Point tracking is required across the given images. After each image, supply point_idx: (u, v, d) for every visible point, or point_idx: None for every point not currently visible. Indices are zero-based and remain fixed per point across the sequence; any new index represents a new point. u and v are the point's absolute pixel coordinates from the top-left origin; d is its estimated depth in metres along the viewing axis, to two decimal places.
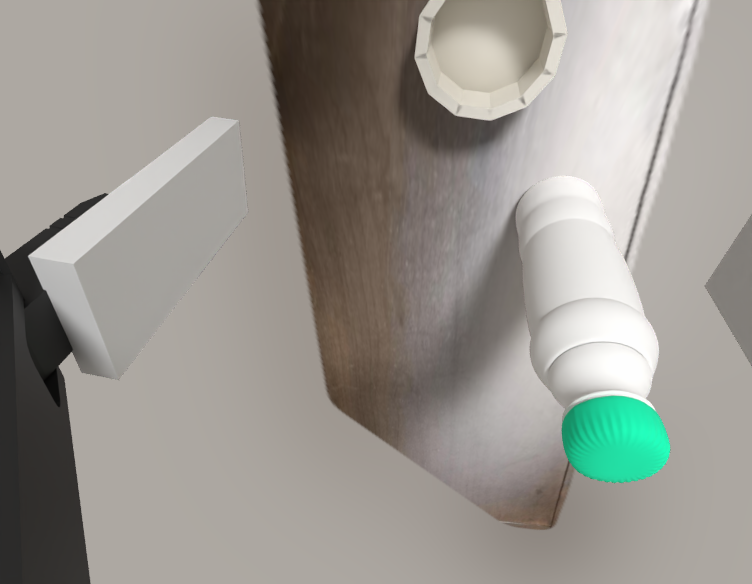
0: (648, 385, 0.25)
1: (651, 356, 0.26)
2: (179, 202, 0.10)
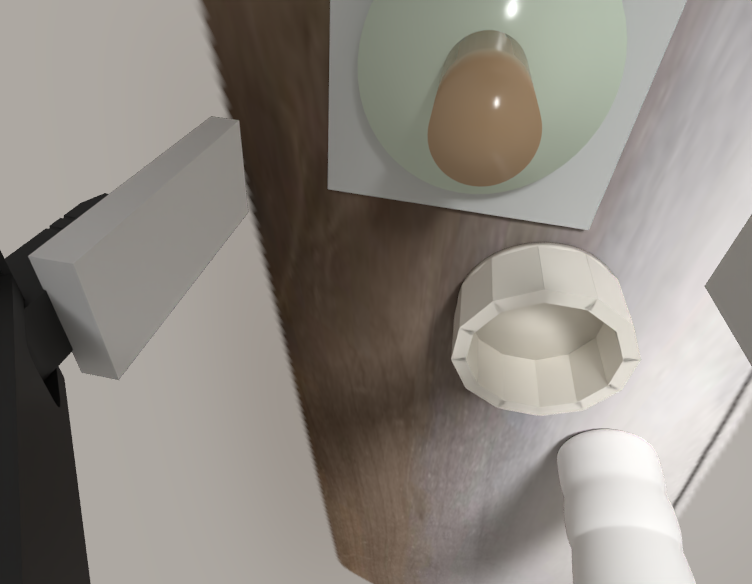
0: None
1: None
2: (179, 202, 0.10)
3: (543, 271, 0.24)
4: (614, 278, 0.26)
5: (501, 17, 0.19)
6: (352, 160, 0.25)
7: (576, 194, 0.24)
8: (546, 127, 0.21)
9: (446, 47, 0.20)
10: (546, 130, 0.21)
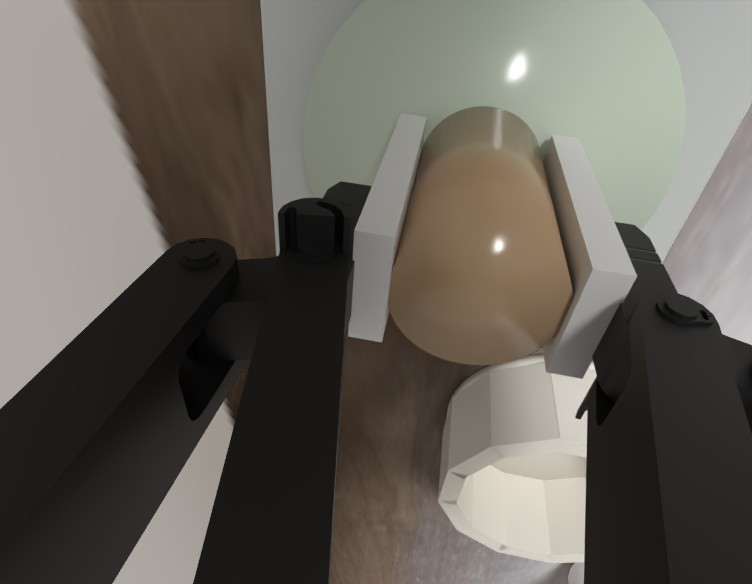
0: None
1: None
2: (410, 188, 0.11)
3: (557, 405, 0.18)
4: None
5: (502, 90, 0.13)
6: None
7: None
8: None
9: (425, 127, 0.14)
10: None
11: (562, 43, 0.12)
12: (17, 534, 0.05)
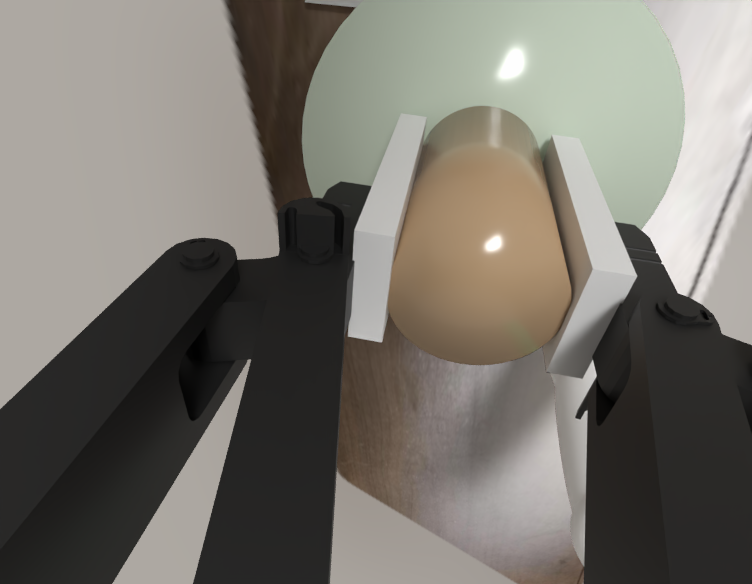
0: None
1: None
2: (410, 189, 0.11)
3: None
4: None
5: (501, 89, 0.13)
6: None
7: None
8: None
9: None
10: None
11: (561, 43, 0.12)
12: (17, 534, 0.05)
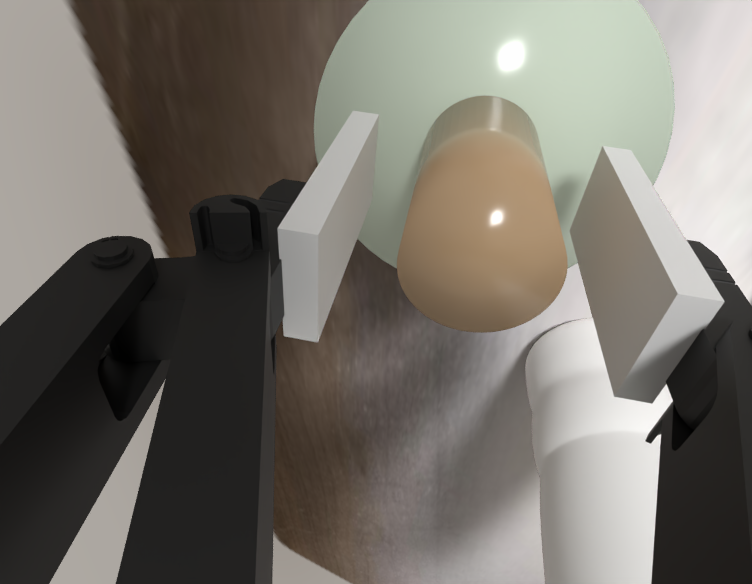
0: None
1: None
2: (353, 186, 0.11)
3: None
4: None
5: (503, 80, 0.14)
6: None
7: None
8: (562, 215, 0.16)
9: (430, 116, 0.15)
10: (562, 219, 0.16)
11: (558, 35, 0.13)
12: None
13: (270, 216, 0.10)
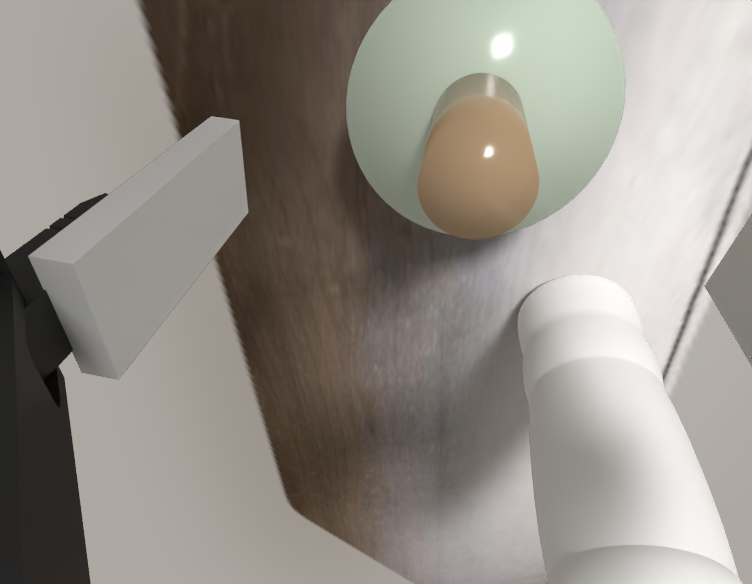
0: None
1: None
2: (179, 201, 0.10)
3: None
4: None
5: (494, 60, 0.18)
6: None
7: None
8: (542, 170, 0.20)
9: (438, 89, 0.19)
10: (543, 174, 0.21)
11: (536, 25, 0.17)
12: None
13: None
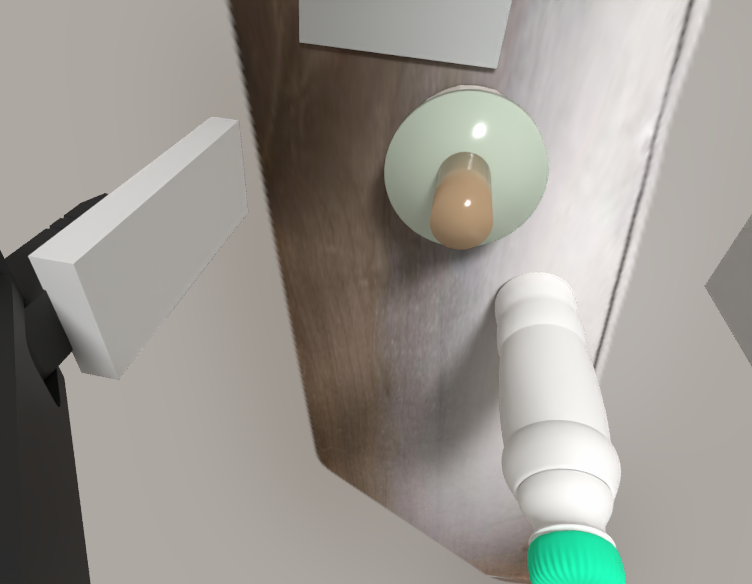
0: (609, 511, 0.27)
1: (612, 481, 0.28)
2: (179, 202, 0.10)
3: None
4: None
5: (473, 145, 0.31)
6: (317, 14, 0.33)
7: (484, 36, 0.32)
8: (503, 207, 0.34)
9: (440, 160, 0.32)
10: (503, 209, 0.34)
11: (496, 128, 0.31)
12: None
13: None
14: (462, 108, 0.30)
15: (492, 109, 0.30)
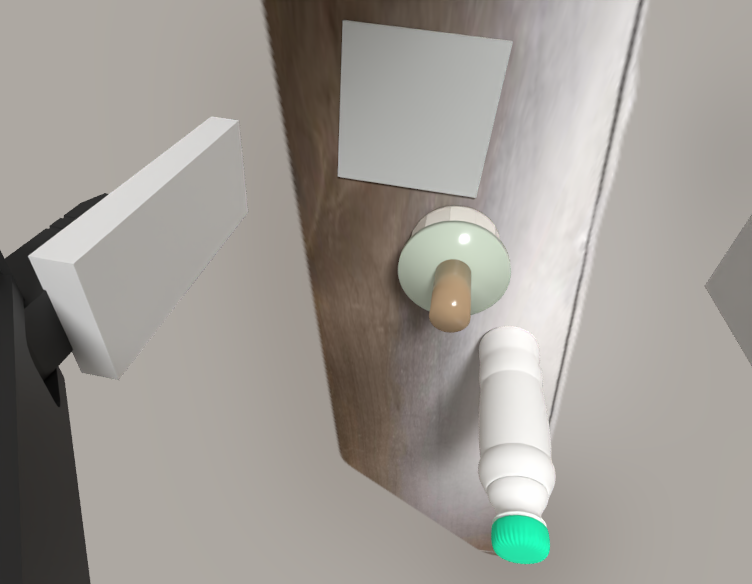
0: (544, 503, 0.42)
1: (547, 484, 0.43)
2: (179, 202, 0.10)
3: (450, 218, 0.47)
4: (492, 224, 0.48)
5: (459, 255, 0.46)
6: (351, 161, 0.47)
7: (466, 178, 0.46)
8: (481, 293, 0.48)
9: (436, 263, 0.47)
10: (481, 294, 0.48)
11: (474, 246, 0.45)
12: None
13: None
14: (451, 234, 0.45)
15: (471, 235, 0.44)
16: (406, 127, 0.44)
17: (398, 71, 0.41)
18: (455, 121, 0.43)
